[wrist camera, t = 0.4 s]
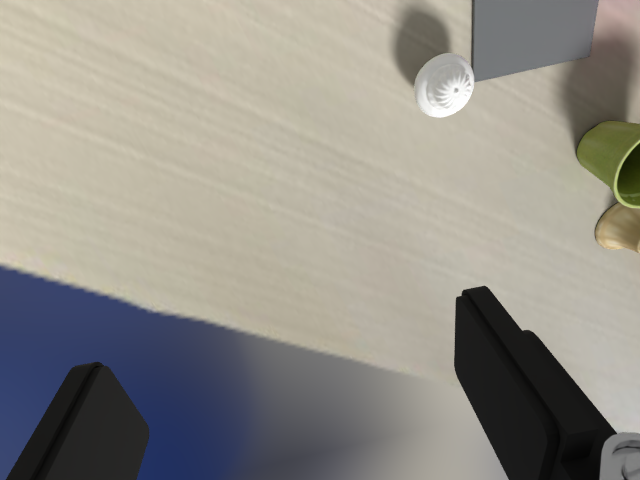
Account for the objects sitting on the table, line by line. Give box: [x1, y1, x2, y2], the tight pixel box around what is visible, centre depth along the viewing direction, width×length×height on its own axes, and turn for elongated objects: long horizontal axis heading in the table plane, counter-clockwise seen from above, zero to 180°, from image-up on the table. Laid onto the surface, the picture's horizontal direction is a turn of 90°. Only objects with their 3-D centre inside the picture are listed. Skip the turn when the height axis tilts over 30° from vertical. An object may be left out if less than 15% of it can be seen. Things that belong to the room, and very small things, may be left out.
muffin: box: [414, 53, 474, 117], centre depth 39 cm, size 6×6×7 cm
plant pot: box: [577, 121, 640, 208], centre depth 44 cm, size 9×9×9 cm
